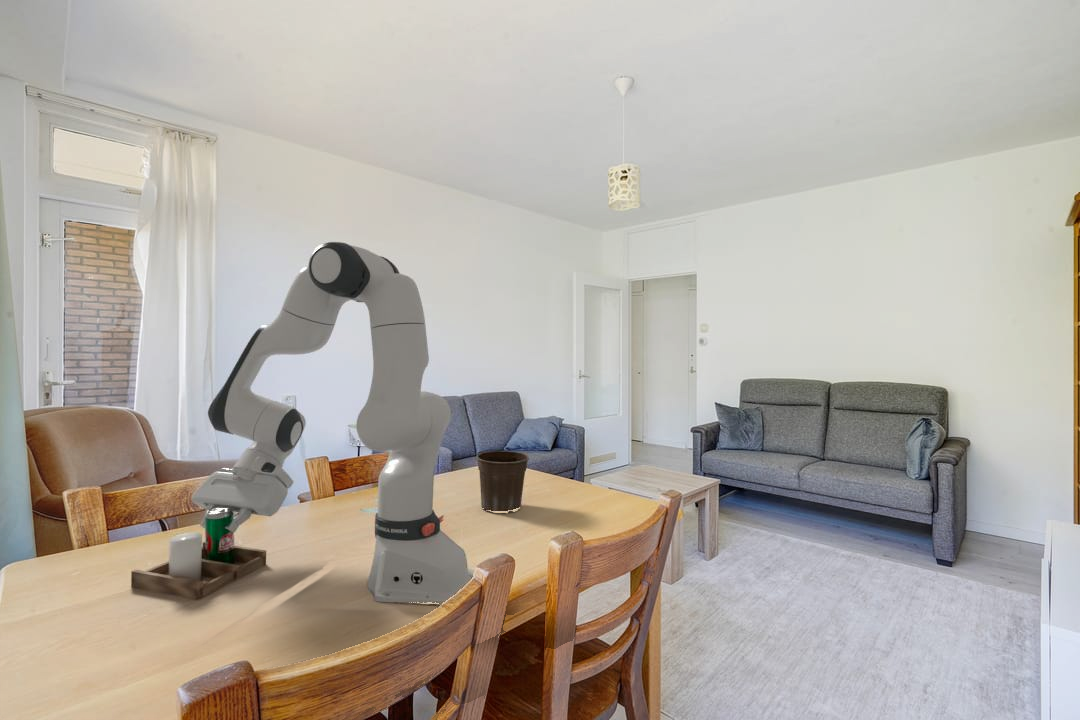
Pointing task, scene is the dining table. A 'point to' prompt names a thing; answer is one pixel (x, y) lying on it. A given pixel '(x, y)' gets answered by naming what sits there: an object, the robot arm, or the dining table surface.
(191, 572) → the white rounded cylinder
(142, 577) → the divided compartment tray
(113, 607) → the dining table surface
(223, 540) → the soda can
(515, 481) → the plant pot
